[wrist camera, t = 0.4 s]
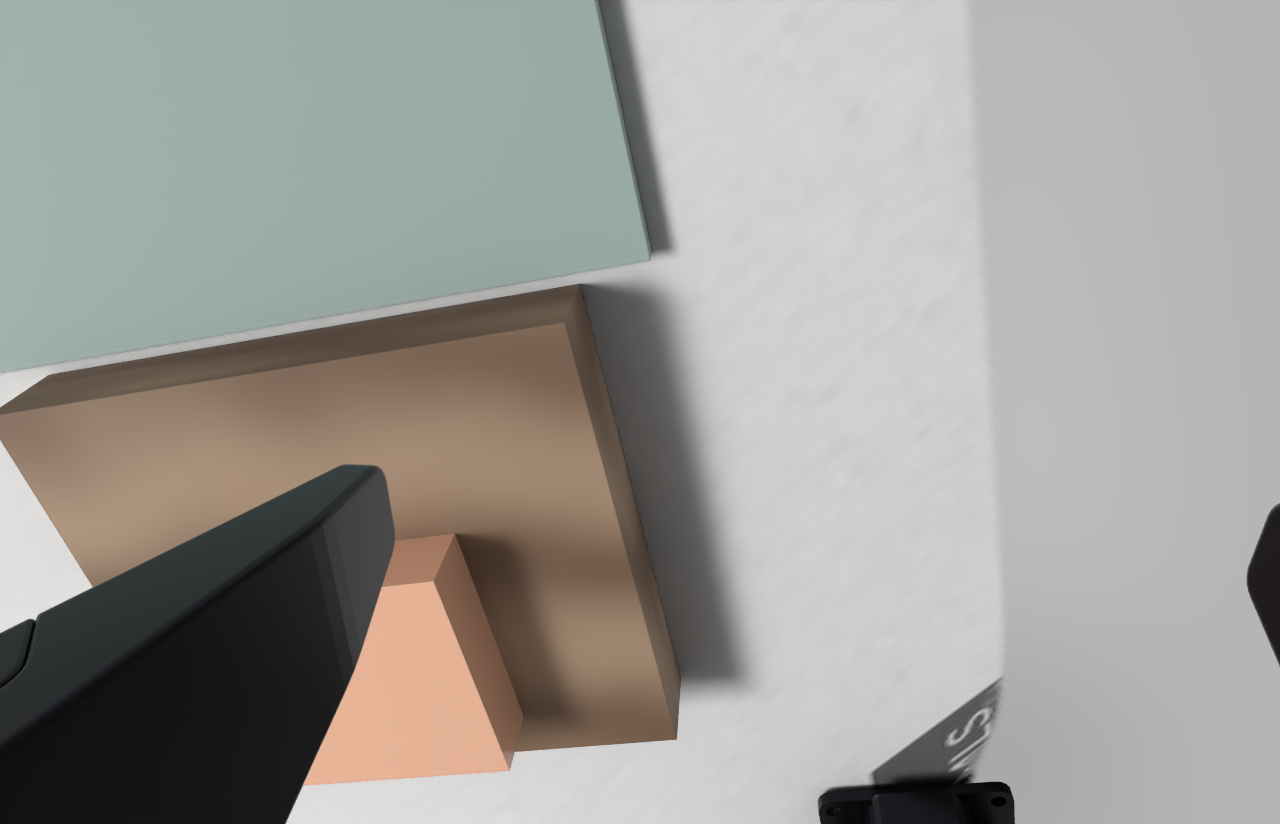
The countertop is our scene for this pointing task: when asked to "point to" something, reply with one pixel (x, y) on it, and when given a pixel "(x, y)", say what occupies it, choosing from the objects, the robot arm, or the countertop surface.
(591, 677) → the wooden block
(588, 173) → the mat
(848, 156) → the countertop surface
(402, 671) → the coaster
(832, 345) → the countertop surface
